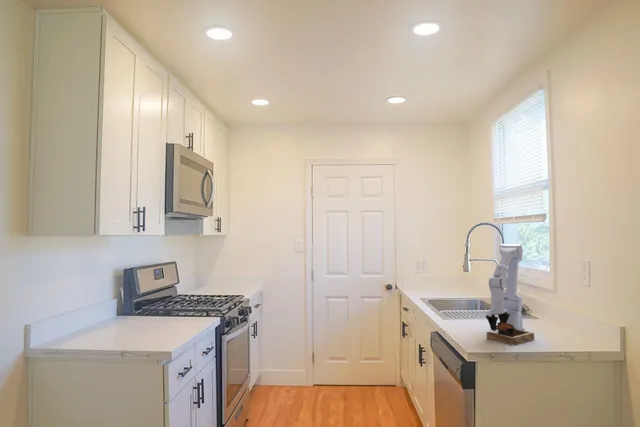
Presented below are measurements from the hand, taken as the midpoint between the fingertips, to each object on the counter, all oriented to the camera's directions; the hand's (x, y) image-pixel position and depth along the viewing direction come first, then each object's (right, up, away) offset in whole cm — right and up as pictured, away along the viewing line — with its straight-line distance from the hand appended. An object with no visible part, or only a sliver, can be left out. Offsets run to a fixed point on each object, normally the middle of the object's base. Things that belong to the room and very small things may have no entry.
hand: (498, 329), depth 200 cm
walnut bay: (+3, -3, -5) cm, 7 cm away
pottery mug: (+2, -3, -5) cm, 6 cm away
